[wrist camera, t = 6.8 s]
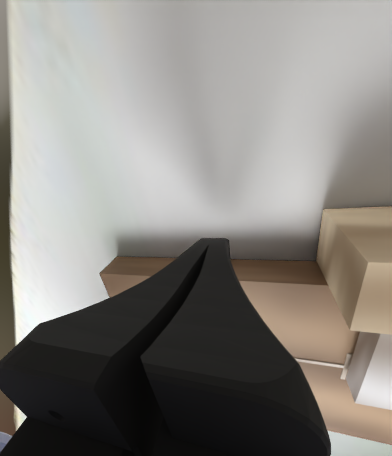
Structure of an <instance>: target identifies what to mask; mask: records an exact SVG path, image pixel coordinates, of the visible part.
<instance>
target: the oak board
mask: <svg viewBox="0 0 392 456" xmlns="http://www.w3.org/2000/svg"><path fill="white" fill-rule="evenodd" d="M175 259H177V258H157V257H116V258H115V259H114V260H113V261H112V262H111V263H110V264H109V265H108V266H107V267H106V268H105V269H104V270H102V271H101V272H100V273H99V274H100V276H101V278H102V281H103V283H104V285H105V288H106V290H107V292H108V295H109V297H110V298H111V297H113V296H115V295H117V294H119V293H121V292H123V291H125V290H127V289H129V288H131V287H133V286H135V285H137V284H139V283H141V282H142V281H144V280H146V279H147V278H149V277H151V276H152V275H154V274H156V273H157V272H159V271H160V270H162V269H163V268H164V267H166V266H167V265H168V264H170V263H171V262H172V261H174V260H175ZM230 260H231V263H232V266H233V269H234V271H235V274H236V276H237V278H238V280H239V282H240V284H241V286H242V288H243V290H244V292H245V294H246V295H247V297H248V299H249V300H250V302H251V303H252V305H253V306H254V308H255V309H256V311H257V312H258V314H259V315H260V317H261V318H262V319H263V321H264V322H265V323H266V325H267V326H268V327H269V329H270V330H271V331H272V332H273V334H274V335H275V336H276V337H277V339H278V340H279V341H280V342H281V343H282V345H283V346H284V347H285V348H286V349H287V350H288V352H289V353H290V354H291V355H292V356H293V357H294V358H295V359H296V361H297V362H298V363H299V364H300V367H301V369H302V371H303V373H304V375H305V377H306V379H307V381H308V383H309V385H310V387H311V390H312V392H313V394H314V396H315V399H316V401H317V403H318V406H319V409H320V411H321V414H322V417H323V419H324V422H325V425H326V428H327V430H328V431H332V432H337V433H341V434H346V435H350V436H354V437H359V438H363V439H368V440H372V441H376V442H381V443H385V444H390V445H392V410H389V409H383V408H378V407H373V406H367V405H362V404H357V403H355V402H354V399H353V396H352V394H351V391H350V388H349V386H348V383H347V380H346V376H347V373H348V370H349V366H350V363H351V360H352V357H353V353H354V350H355V347H356V343H357V340H358V337H359V333H360V331H351V330H349V328H348V326H347V323H346V321H345V319H344V317H343V315H342V313H341V311H340V309H339V307H338V305H337V303H336V300H335V298H334V296H333V294H332V292H331V290H330V288H329V286H328V284H327V282H326V279H325V277H324V275H323V273H322V271H321V269H320V267H319V265H318V263H317V261H285V260H242V259H230Z"/></svg>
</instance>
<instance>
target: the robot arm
mask: <svg viewBox="0 0 392 456" xmlns="http://www.w3.org/2000/svg"><path fill="white" fill-rule="evenodd" d="M0 389H1V391H2V392H3V393H4V394H5V395H6V396H7V397H8V398H9V399H10V400H11V401H12V402H13V403H14V404H15V405H16V406H17V407H18V408H19V409H20V410H21V411H22V412H23V413H24V414H25V415H26V416H27V418H26V419H25V421H24V422H23V423H22V425H21V426H20V427H19V428H18V430H17V431H16V432H15V434H14V435H13V436H11V435H8V434H5V433H3V432H0V456H330V455H331V443H330V439H329V435H328V431H327V428H326V425H325V422H324V419H323V417H322V414H321V411H320V409H319V406H318V403H317V401H316V399H315V396H314V394H313V392H312V390H311V387H310V385H309V383H308V381H307V379H306V377H305V375H304V373H303V371H302V369H301V367H300V364H299V363H298V362H297V361H296V359H295V358H294V357H293V356H292V355H291V354H290V353H289V352H288V350H287V349H286V348H285V347H284V346H283V345H282V343H281V342H280V341H279V340H278V339H277V337H276V336H275V335H274V334H273V332H272V331H271V330H270V329H269V327H268V326H267V325H266V323H265V322H264V321H263V319H262V318H261V317H260V315H259V314H258V312H257V311H256V309H255V308H254V306H253V305H252V303H251V302H250V300H249V299H248V297H247V295H246V294H245V292H244V290H243V288H242V286H241V284H240V282H239V280H238V278H237V276H236V274H235V271H234V269H233V266H232V263H231V260H230V248H229V240H228V239H227V238H201V239H200V240H199V241H197V242H196V243H195V244H194V245H192V246H191V247H190V248H189V249H188V250H186V251H185V252H184V253H183V254H182V255H180V256H179V257H178V258H177V259H175V260H174V261H172V262H171V263H170V264H168V265H167V266H166V267H164V268H163V269H162V270H160V271H159V272H157V273H156V274H154V275H152V276H151V277H149V278H147V279H146V280H144V281H142V282H141V283H139V284H137V285H135V286H133V287H131V288H129V289H127V290H125V291H123V292H121V293H119V294H117V295H115V296H113V297H111V298H108V299H106V300H104V301H102V302H99V303H97V304H94V305H92V306H89V307H87V308H84V309H81V310H79V311H76V312H73V313H70V314H67V315H64V316H61V317H58V318H56V319H53V320H50V321H47V322H43V323H40V324H39V325H38V326H36V327H35V328H34V329H33V330H32V331H31V332H30V333H29V334H28V335H27V336H26V337H25V338H24V339H23V340H22V341H21V342H20V343H19V344H18V345H16V346H15V347H14V348H13V349H12V350H11V351H10V352H9V353H8V354H7V355H6V356H5V357H4V358H3V359H2V360H0Z"/></svg>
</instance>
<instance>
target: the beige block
mask: <svg viewBox="0 0 392 456" xmlns="http://www.w3.org/2000/svg"><path fill="white" fill-rule="evenodd" d="M316 261H317V263H318V265H319V267H320V269H321V271H322V273H323V275H324V277H325V279H326V282H327V284H328V286H329V288H330V290H331V292H332V294H333V296H334V298H335V300H336V303H337V305H338V307H339V309H340V311H341V313H342V315H343V317H344V319H345V321H346V323H347V326H348V328H349V330H351V331H360V333H359V337H358V340H357V343H356V347H355V350H354V353H353V357H352V360H351V363H350V366H349V370H348V373H347V376H346V380H347V383H348V386H349V388H350V391H351V394H352V396H353V399H354V402H355V403H357V404H362V405H367V406H373V407H378V408H383V409H389V410H392V206H388V207H363V208H338V209H323V214H322V221H321V228H320V236H319V243H318V250H317V257H316Z"/></svg>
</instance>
